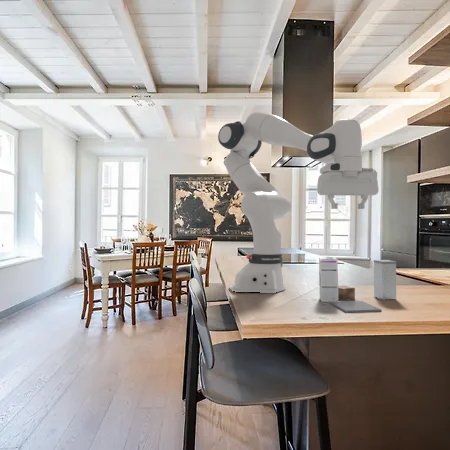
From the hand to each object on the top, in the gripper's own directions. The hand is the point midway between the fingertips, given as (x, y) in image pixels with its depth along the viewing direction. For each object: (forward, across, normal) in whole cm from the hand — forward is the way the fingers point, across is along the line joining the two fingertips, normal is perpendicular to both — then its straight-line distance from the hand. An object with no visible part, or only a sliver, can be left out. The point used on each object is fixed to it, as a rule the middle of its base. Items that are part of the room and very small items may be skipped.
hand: (347, 208), depth 109 cm
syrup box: (+31, +6, -2) cm, 32 cm away
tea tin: (+31, -15, -3) cm, 35 cm away
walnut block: (+31, -1, -5) cm, 32 cm away
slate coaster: (+31, +2, +8) cm, 32 cm away
